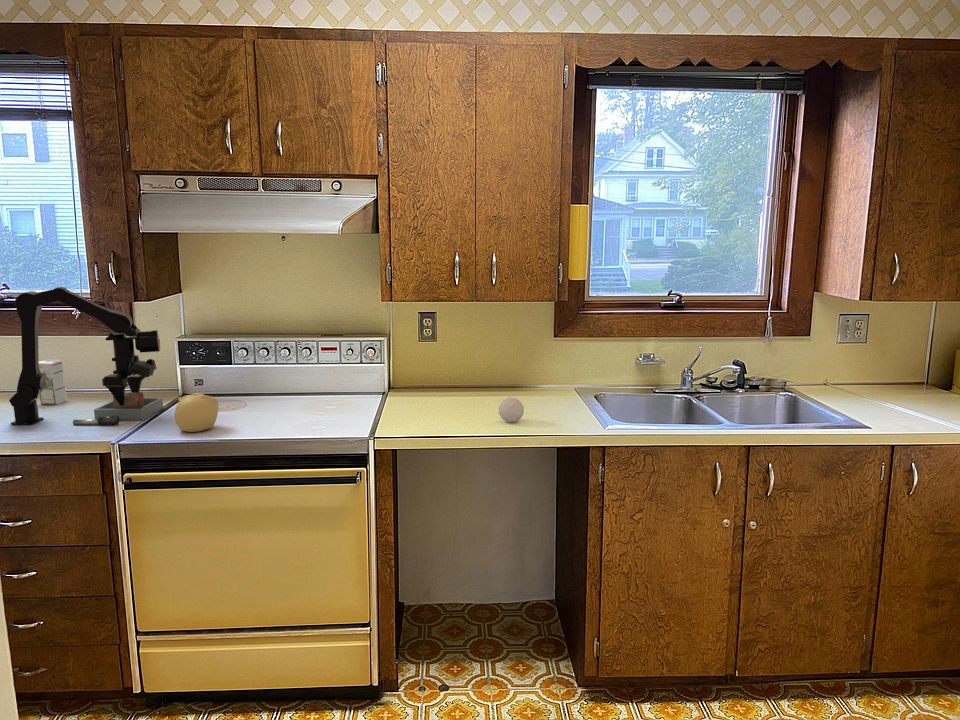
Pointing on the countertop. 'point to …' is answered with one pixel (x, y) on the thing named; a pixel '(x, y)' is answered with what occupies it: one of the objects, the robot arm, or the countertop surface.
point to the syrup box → (53, 382)
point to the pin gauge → (99, 421)
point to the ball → (511, 410)
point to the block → (131, 401)
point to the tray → (130, 410)
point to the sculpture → (196, 412)
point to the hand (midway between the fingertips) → (129, 401)
